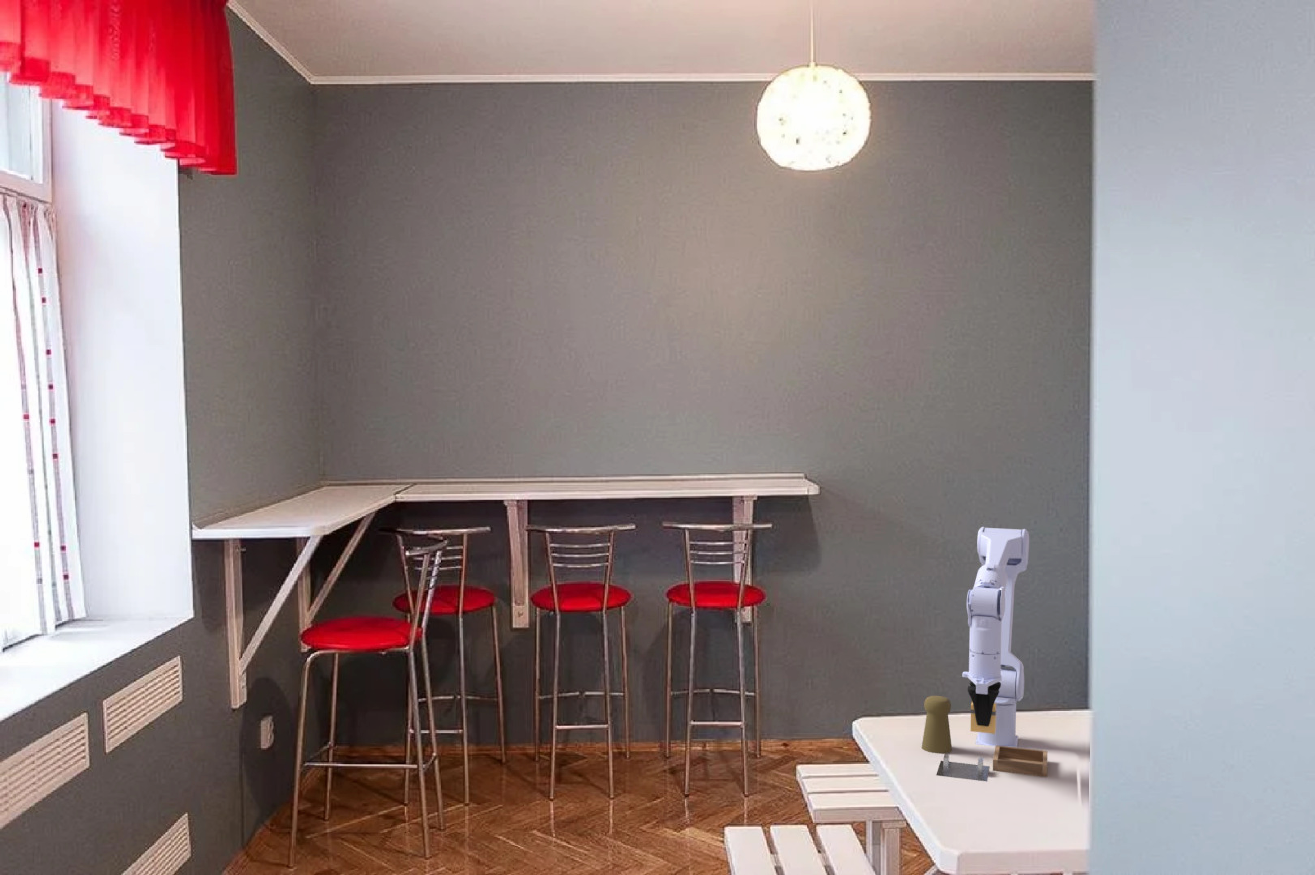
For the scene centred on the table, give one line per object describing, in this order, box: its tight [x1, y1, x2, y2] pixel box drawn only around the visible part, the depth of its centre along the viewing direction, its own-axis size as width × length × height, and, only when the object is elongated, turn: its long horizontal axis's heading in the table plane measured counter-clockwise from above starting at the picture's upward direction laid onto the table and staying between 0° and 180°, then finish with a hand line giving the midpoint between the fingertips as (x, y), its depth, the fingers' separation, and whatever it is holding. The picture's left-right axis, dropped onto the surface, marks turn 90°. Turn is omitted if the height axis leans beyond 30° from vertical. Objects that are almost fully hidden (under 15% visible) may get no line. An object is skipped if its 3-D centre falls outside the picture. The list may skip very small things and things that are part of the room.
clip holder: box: [935, 753, 990, 782], centre depth 207 cm, size 9×9×3 cm
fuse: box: [970, 701, 997, 734], centre depth 208 cm, size 3×4×5 cm, turn 70°
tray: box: [992, 745, 1048, 778], centre depth 210 cm, size 10×10×3 cm
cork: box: [921, 695, 953, 754], centre depth 220 cm, size 6×6×11 cm
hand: (983, 723), depth 208 cm, fingers closed on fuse, 3 cm apart
